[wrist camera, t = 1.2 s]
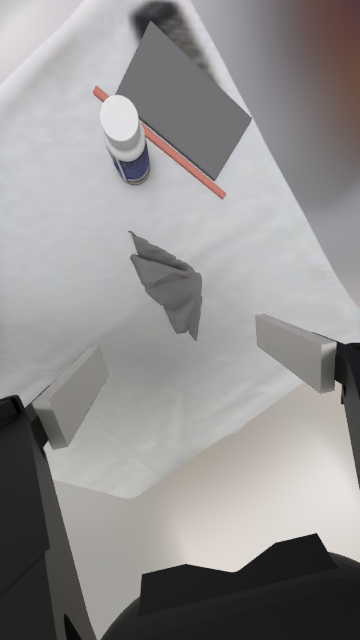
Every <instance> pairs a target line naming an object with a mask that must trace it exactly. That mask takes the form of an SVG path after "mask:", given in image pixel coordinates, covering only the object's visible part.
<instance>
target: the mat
mask: <svg viewBox="0 0 360 640" xmlns="http://www.w3.org/2000/svg"><path fill="white" fill-rule="evenodd" d="M115 95H121V96H124V97H126V98H127V99H129V100H130V101H131V102H132V103H133V105H134V106H135V108H136V110H137V113H138V117H139V119H140V120H142V121H143V122H144V123H145V124H146V125H148V126H149V127H150V128H151V129H152V130H154V131H155V132H156V133H157V134H158V135H160V136H161V137H162V138H163V139H164V140H166V141H167V142H168V143H169V144H170V145H172V146H173V147H174V148H175V149H176V150H178V151H179V152H180V153H181V154H182V155H184V156H185V157H186V158H187V159H188V160H190V161H191V162H192V163H193V164H194V165H196V166H197V167H198V168H199V169H200V170H202V171H203V172H204V173H205V174H207V175H208V176H209V177H210V178H211V179H213V180H214V181H215V179H216V177H217V176H218V174H219V172H220V171H221V169H222V167H223V166H224V164H225V162H226V161H227V159H228V157H229V156H230V154H231V153H232V151H233V149H234V148H235V146H236V144H237V143H238V141H239V139H240V138H241V136H242V134H243V133H244V131H245V129H246V128H247V126H248V125H249V123H250V121H251V119H252V118H251V117H250V116H249V115H248V114H247V113H246V112H245V111H244V110H243V109H242V108H241V107H240V106H239V105H238V104H237V103H236V102H235V101H233V100H232V99H231V98H230V97H229V96H228V95H227V94H226V93H225V92H224V91H223V90H222V89H221V88H220V87H219V86H218V85H217V84H216V83H215V82H214V81H213V80H212V79H211V78H210V77H209V76H208V75H207V74H205V73H204V72H203V71H202V70H201V69H200V68H199V67H198V66H197V65H196V64H195V63H194V62H193V61H192V60H191V59H190V58H189V57H188V56H187V55H186V54H185V53H184V52H183V51H182V50H181V49H180V48H179V47H177V46H176V45H175V44H174V43H173V42H172V41H171V40H170V39H169V38H168V37H167V36H166V35H165V34H164V33H163V32H162V31H161V30H160V29H159V28H158V27H157V26H156V25H155V24H154V23H153V22H152V21H150V23H149V25H148V27H147V29H146V31H145V33H144V35H143V37H142V40H141V42H140V44H139V46H138V48H137V50H136V52H135V54H134V56H133V58H132V61H131V63H130V65H129V67H128V69H127V71H126V73H125V75H124V77H123V79H122V82H121V84H120V86H119V88H118V90H117V92H116V94H115Z"/></svg>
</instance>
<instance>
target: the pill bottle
mask: <svg viewBox="0 0 360 640" xmlns="http://www.w3.org/2000/svg"><path fill="white" fill-rule="evenodd" d="M100 122H101V125H102V128H103V136H104V141H105V144H106V147H107V149H108V151H109V153H110V155H111V158H112V160H113V162H114V164H115V166H116V168H117V171H118V173H119V174H120V176H121V177H122V178H123V179H124V180H125V181H126V182H128V183H130V184H140V183H142V182H143V181H144V180H145V179H146V178H147V176H148V174H149V170H150V163H149V156H148V149H147V143H146V136H145V132H144V128H143V126H142V124H141V122H140V121H139V117H138V113H137V110H136V108H135V106H134V105H133V103H132V102H131V101H130V100H129V99H127V98H126V97H124V96H121V95H113V96H110V97H108V98H107V99H106V100H105V101H104V102H103V104H102V106H101V110H100Z"/></svg>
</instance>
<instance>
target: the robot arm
mask: <svg viewBox="0 0 360 640" xmlns="http://www.w3.org/2000/svg"><path fill="white" fill-rule="evenodd" d="M255 321H256V335H257V346H258V347H260V348H261V349H262V350H264V351H265V352H266V353H268V354H269V355H270V356H271V357H273V358H274V359H275V360H277V361H278V362H279V363H281V364H282V365H283V366H285V367H286V368H287V369H289V370H290V371H291V372H293V373H294V374H295V375H296V376H298V377H299V378H300V379H302V380H303V381H304V382H306V383H307V384H308V385H310V386H311V387H312V388H314V389H315V390H316V391H318V392H319V393H320V394H321V393H326V392H331V391H334V387H335V380H336V381H337V382H339V383H341V384H342V395H341V404H344V406H345V412H346V418H347V423H348V428H349V433H350V439H351V445H352V450H353V456H354V461H355V467H356V472H357V477H358V483H359V488H360V343H348V344H343V343H340V342H338V341H335V340H332V339H328V338H327V337H325V336H322V335H319V334H317V333H313V332H309V331H307V330H304V329H301V328H299V327H296V326H294V325H291V324H289V323H286V322H283V321H281V320H278V319H276V318H273V317H270V316H268V315H265V314H261V315H256V316H255ZM108 376H109V373H108V370H107V367H106V364H105V360H104V357H103V354H102V351H101V348H100V346H95V347H90V348H89V349H88V350H87V351H86V352H85V353H84V354H83V355H82V356H81V357H80V358H79V359H78V360H77V361H76V362H74V363H73V364H72V365H71V366H70V367H69V368H68V369H67V370H66V371H65V372H64V373H63V374H62V375H61V376H60V377H59V378H58V379H57V380H55V381H54V382H53V383H52V384H51V385H49V386H48V387H47V388H46V389H45V390H44V391H43V392H42V393H40V394H39V395H38V396H37V398H35V399H34V400H33V401H32V402H31V403H30V404H29V405H28V406H27V407H25V408H24V406H23V404H22V402H21V399H20V397H19V396H18V395H12V396H8V397H5V398H3V399H0V640H97V639H96V636H95V634H94V631H93V629H92V626H91V623H90V620H89V617H88V613H87V610H86V606H85V602H84V598H83V595H82V591H81V587H80V583H79V580H78V575H77V572H76V568H75V564H74V560H73V556H72V552H71V549H70V545H69V541H68V537H67V533H66V529H65V526H64V522H63V518H62V515H61V510H60V507H59V503H58V499H57V495H56V491H55V487H54V483H53V480H52V476H51V472H50V468H49V464H48V460H47V457H46V453H45V451H44V449H43V447H44V445H45V444H46V443H47V441H49V443H50V445H51V447H52V449H58V448H63V447H68V446H69V444H70V442H71V441H72V439H73V437H74V435H75V434H76V432H77V430H78V428H79V427H80V425H81V423H82V421H83V420H84V418H85V416H86V414H87V413H88V411H89V409H90V407H91V406H92V404H93V402H94V400H95V399H96V397H97V395H98V393H99V392H100V390H101V388H102V386H103V385H104V383H105V381H106V379H107V378H108ZM101 640H360V563H359V562H357V561H354V560H352V559H350V558H347V557H345V556H342V555H339V554H335V553H331V552H328V551H327V550H326V548H325V546H324V545H323V543H322V541H321V539H320V538H319V536H318V534H317V533H315V534H312V535H307V536H303V537H298V538H294V539H290V540H286V541H282V542H277V543H275V544H273V545H272V546H271V547H269V548H268V549H267V550H265V551H264V552H263V553H261V554H260V555H259V556H257V557H256V558H255V559H254V560H252V561H251V562H250V563H248V564H247V565H246V566H244V567H243V568H242V569H241V570H239V571H237V572H226V571H221V570H215V569H210V568H204V567H199V566H194V565H188V564H184V565H180V566H176V567H171V568H167V569H163V570H159V571H155V572H150V573H146V574H142V580H141V593H140V597H138V598H137V599H136V600H134V601H133V602H132V603H131V604H130V605H129V606H128V607H127V608H126V609H125V610H124V611H123V612H122V613H121V614H120V615H119V616H118V618H117V619H116V620H115V621H114V622H113V623H112V624H111V626H110V627H109V628H108V630H107V631H106V633H105V634H104V636H103V637H102V639H101Z"/></svg>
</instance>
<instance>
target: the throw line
mask: <svg viewBox="0 0 360 640" xmlns="http://www.w3.org/2000/svg"><path fill="white" fill-rule="evenodd" d="M93 93H94V95H95V96H97V97H98V98H99V99H100V100H102V101H103V102H104V101H105V100H106V99H107V98H108V97H110V96H108V95H107V94H106V93H105V92H104V91H102V90H101V89H100V88H99V87H97V86H95V89H94V91H93ZM141 124H142V123H141ZM142 126H143V128H144V132H145V136H146V137H147V138H148V139H149V140H151V141H152V142H153V143H154V144H156V145H157V146H158V147H159V148H160V149H162V150H163V151H164V152H165V153H167V154H168V155H169V156H170V157H171V158H173V159H174V160H175V161H176V162H178V163H179V164H180V165H181V166H182V167H184V168H185V169H186V170H187V171H189V172H190V173H191V174H192V175H193V176H195V177H196V178H197V179H198V180H200V181H201V182H202V183H203V184H205V185H206V186H207V187H208V188H209V189H211V190H212V191H213V192H214V193H216V194H217V195H218V196H219V197H220V198H222V199H223V198H224V196H225V194H226V193H225V192H224V191H223V190H222V189H221V188H219V187H218V186H217V185H216V184H215V183H213V182H212V181H211V180H210V179H209V178H207V177H206V176H205V175H204V174H202V173H201V172H200V171H199V170H198V169H196V168H195V167H194V166H193V165H192V164H190V163H189V162H188V161H187V160H186V159H184V158H183V157H182V156H181V155H180V154H178V153H177V152H176V151H175V150H174V149H172V148H171V147H170V146H169V145H167V144H166V143H165V142H164V141H163V140H161V139H160V138H159V137H158V136H157V135H155V134H154V133H153V132H152V131H151V130H149V129H148V128H147V127H146V126H145V125H143V124H142Z"/></svg>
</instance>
